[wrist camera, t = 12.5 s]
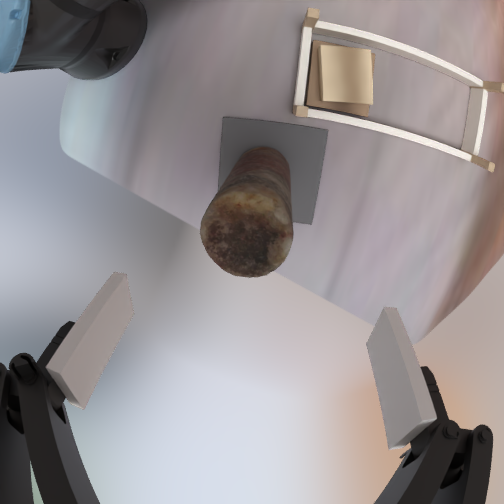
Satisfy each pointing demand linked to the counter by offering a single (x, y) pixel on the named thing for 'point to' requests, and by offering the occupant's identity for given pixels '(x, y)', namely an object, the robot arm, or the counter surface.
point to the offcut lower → (313, 86)
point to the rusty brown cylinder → (251, 216)
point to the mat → (289, 145)
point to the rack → (350, 34)
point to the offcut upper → (345, 74)
